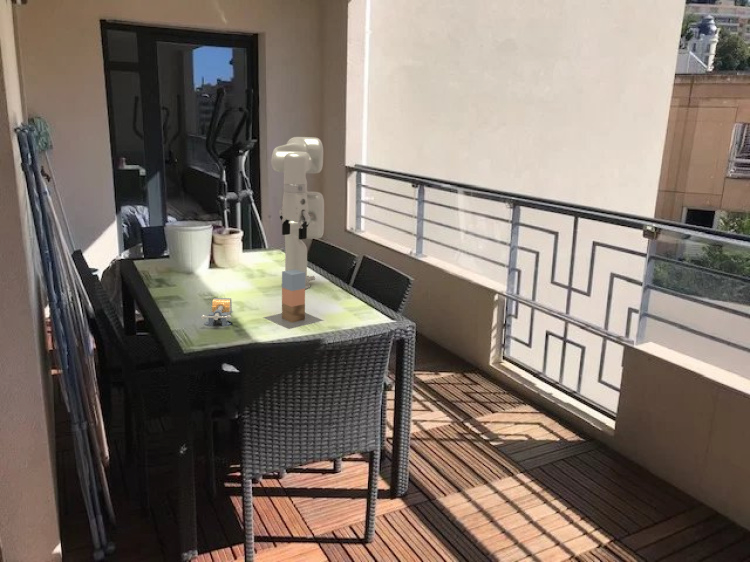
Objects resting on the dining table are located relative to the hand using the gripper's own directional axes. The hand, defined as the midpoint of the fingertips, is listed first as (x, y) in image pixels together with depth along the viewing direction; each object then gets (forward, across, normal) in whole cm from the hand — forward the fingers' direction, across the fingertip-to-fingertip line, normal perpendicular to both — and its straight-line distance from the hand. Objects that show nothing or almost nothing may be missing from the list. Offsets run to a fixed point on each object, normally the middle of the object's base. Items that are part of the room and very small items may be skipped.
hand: (294, 236), depth 223 cm
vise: (+33, +17, +21) cm, 42 cm away
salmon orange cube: (+25, 0, 0) cm, 25 cm away
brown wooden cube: (+31, 0, 0) cm, 31 cm away
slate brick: (+19, 0, 0) cm, 19 cm away
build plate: (+32, 0, 0) cm, 32 cm away
